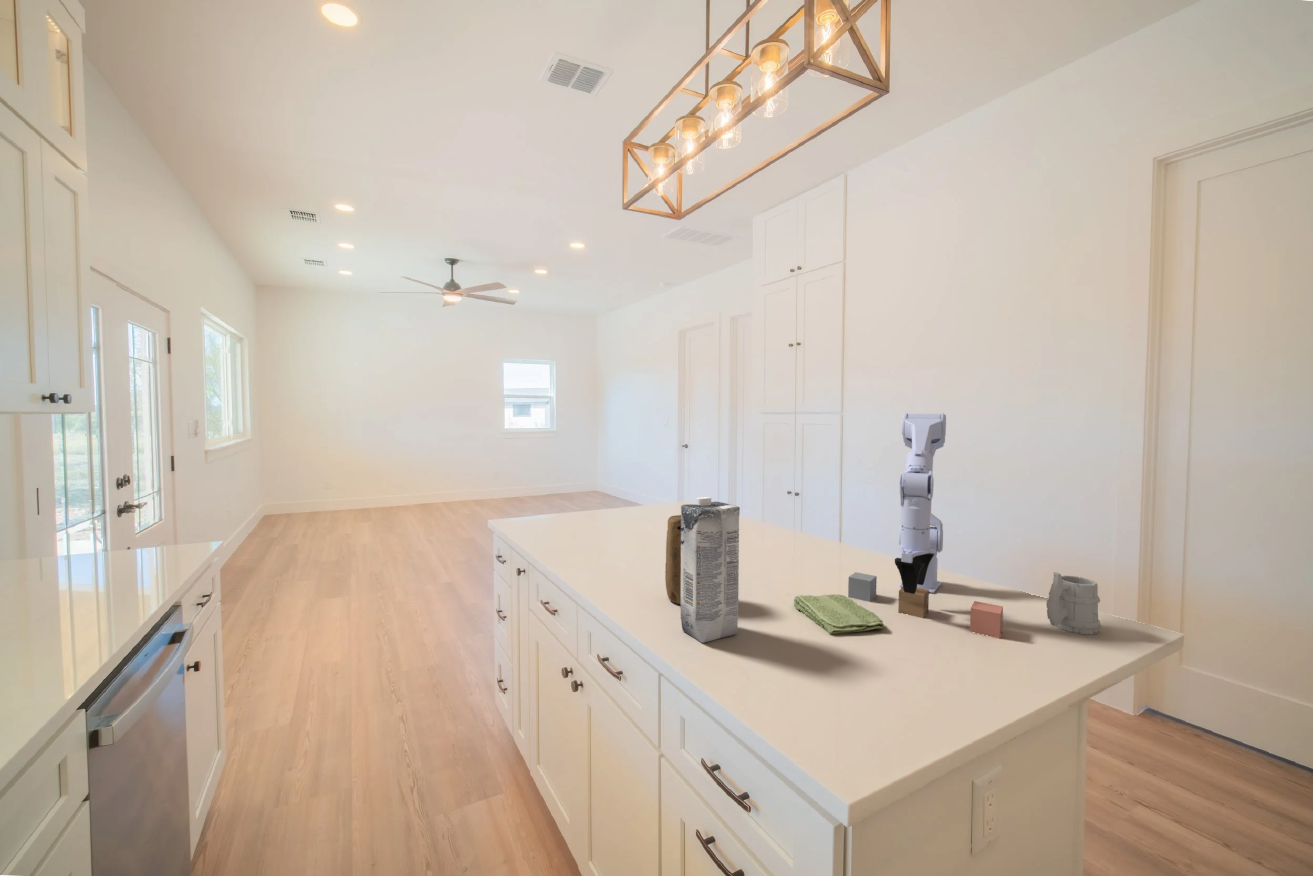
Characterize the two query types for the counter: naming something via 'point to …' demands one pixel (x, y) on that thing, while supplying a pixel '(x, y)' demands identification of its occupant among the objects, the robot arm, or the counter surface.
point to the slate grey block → (862, 586)
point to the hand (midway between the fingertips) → (913, 588)
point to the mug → (1074, 604)
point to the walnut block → (914, 602)
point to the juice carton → (709, 569)
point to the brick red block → (986, 619)
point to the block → (673, 559)
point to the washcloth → (837, 613)
